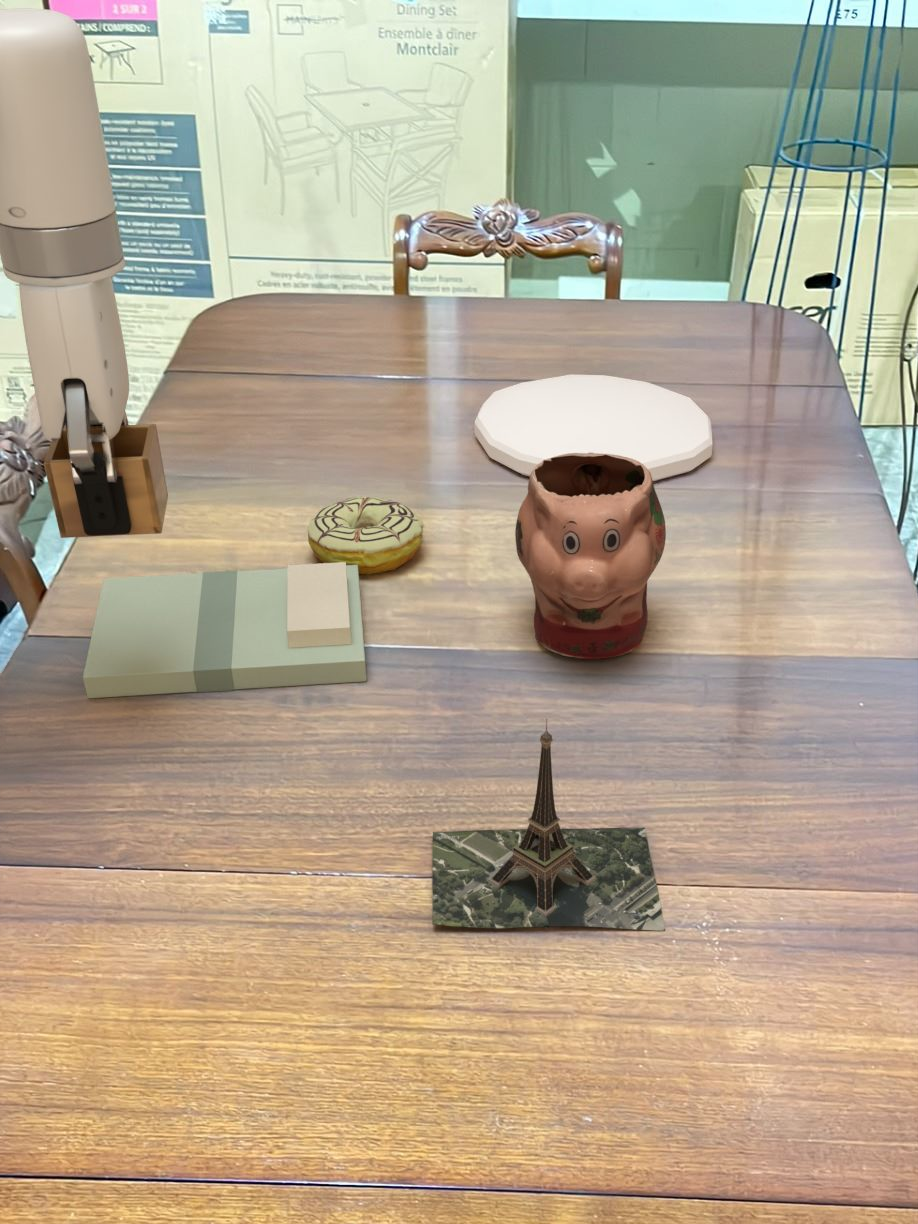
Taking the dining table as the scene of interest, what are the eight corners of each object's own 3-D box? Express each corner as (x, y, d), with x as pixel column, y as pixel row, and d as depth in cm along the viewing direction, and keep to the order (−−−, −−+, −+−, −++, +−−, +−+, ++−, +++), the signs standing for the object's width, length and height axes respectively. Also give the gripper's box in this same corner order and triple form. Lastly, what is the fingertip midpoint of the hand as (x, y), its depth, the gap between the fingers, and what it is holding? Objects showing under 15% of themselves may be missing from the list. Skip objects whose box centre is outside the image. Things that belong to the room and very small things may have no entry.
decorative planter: (508, 569, 123) (509, 418, 114) (642, 566, 124) (653, 416, 115) (521, 689, 108) (523, 527, 99) (673, 685, 109) (689, 523, 100)
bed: (87, 699, 107) (78, 659, 105) (108, 598, 119) (99, 560, 117) (366, 682, 109) (363, 642, 107) (359, 585, 121) (356, 547, 119)
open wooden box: (60, 538, 96) (43, 463, 92) (71, 500, 100) (55, 427, 96) (161, 533, 96) (148, 458, 92) (168, 496, 101) (155, 423, 97)
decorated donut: (429, 527, 129) (428, 490, 127) (418, 582, 121) (416, 543, 119) (320, 524, 130) (317, 486, 127) (302, 578, 122) (298, 539, 119)
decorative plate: (762, 421, 138) (547, 468, 130) (757, 460, 141) (546, 509, 132) (634, 343, 155) (437, 380, 146) (632, 380, 158) (438, 418, 149)
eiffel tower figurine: (647, 832, 95) (662, 667, 86) (665, 930, 87) (684, 761, 78) (432, 836, 94) (426, 671, 86) (431, 935, 87) (424, 765, 78)
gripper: (21, 207, 92) (76, 463, 104) (-26, 290, 79) (43, 571, 91) (134, 204, 93) (175, 459, 104) (105, 286, 80) (156, 566, 92)
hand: (113, 509), depth 98 cm, fingers closed on open wooden box, 6 cm apart
